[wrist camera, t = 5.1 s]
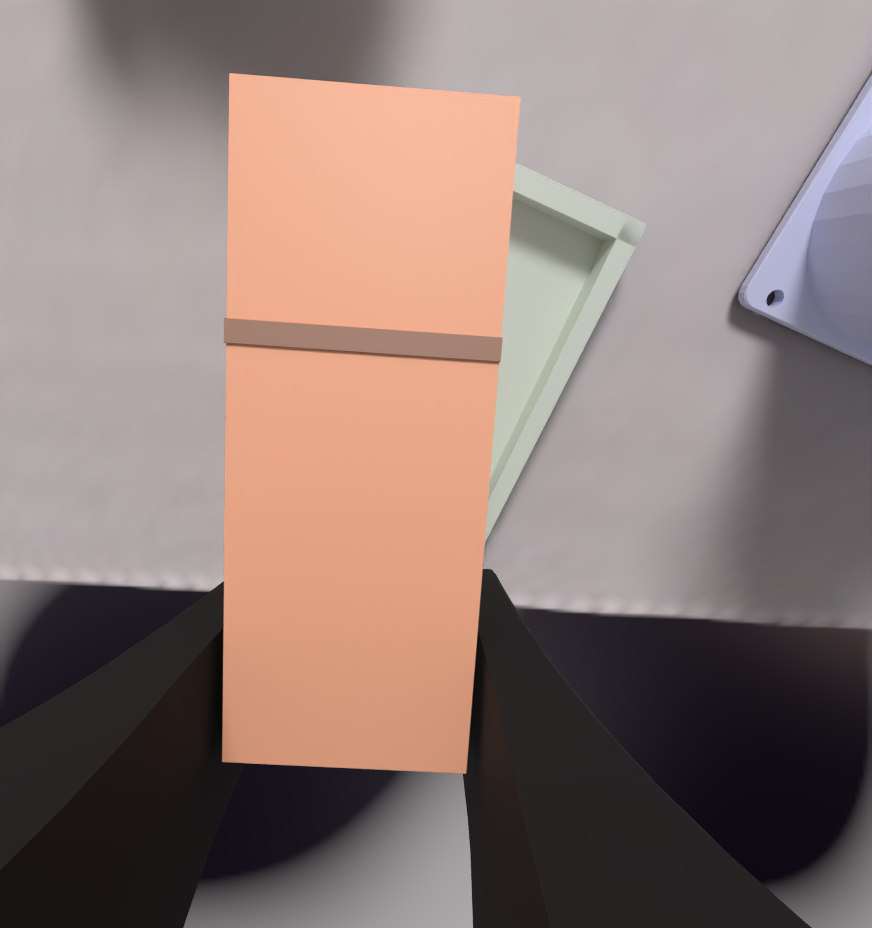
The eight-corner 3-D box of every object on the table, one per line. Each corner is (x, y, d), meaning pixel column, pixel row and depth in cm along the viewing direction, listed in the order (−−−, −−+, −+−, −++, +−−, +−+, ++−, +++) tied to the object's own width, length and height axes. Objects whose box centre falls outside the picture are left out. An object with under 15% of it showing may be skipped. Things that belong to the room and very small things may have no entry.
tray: (625, 230, 13) (646, 224, 12) (461, 561, 18) (463, 584, 17) (388, 119, 12) (382, 99, 11) (282, 502, 17) (268, 522, 16)
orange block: (476, 251, 10) (522, 94, 5) (450, 614, 11) (467, 777, 6) (327, 240, 10) (227, 69, 5) (314, 606, 11) (219, 764, 6)
